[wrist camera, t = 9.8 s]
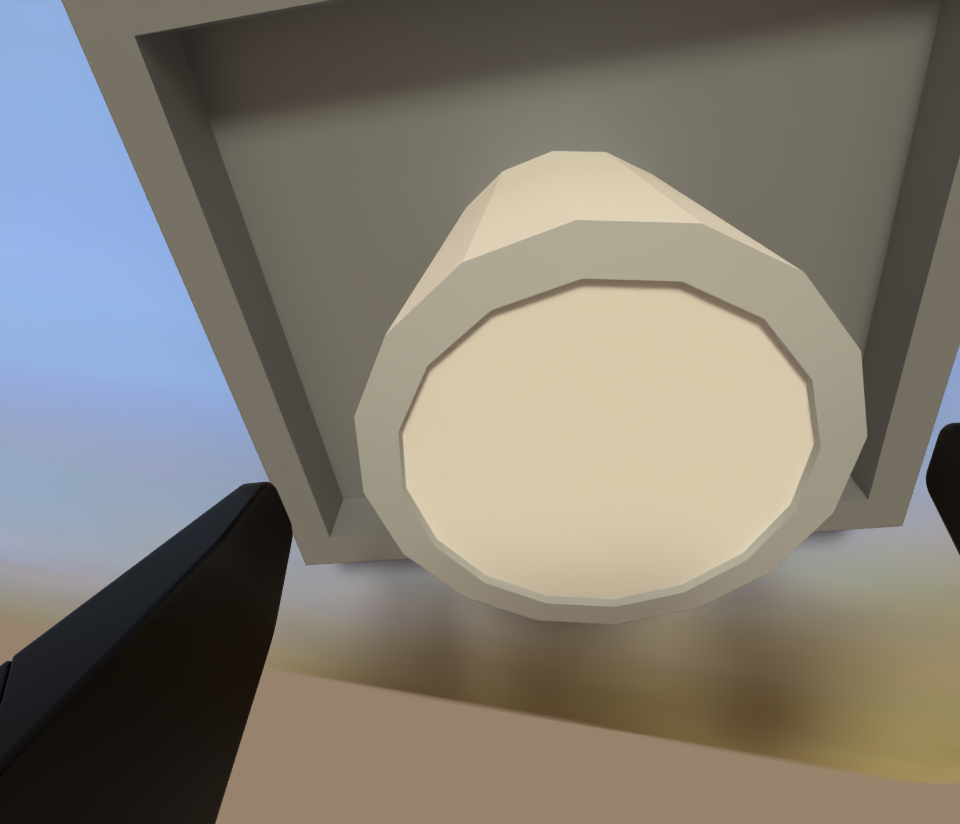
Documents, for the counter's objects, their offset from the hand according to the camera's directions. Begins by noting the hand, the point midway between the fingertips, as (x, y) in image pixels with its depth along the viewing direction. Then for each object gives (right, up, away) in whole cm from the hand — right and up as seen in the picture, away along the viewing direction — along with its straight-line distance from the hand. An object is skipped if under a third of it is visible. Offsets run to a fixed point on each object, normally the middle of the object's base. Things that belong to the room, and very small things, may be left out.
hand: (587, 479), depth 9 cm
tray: (+1, +4, +6) cm, 8 cm away
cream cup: (+1, +4, +6) cm, 7 cm away
